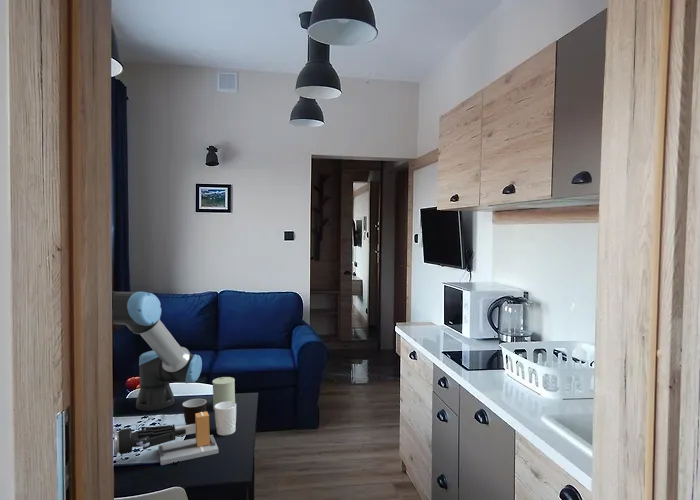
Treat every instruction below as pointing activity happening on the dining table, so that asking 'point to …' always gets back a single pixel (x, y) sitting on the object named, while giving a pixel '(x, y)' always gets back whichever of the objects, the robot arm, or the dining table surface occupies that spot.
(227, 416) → the white cup
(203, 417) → the fader tab
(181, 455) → the rail
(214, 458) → the dining table surface
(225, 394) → the can
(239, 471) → the dining table surface
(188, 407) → the coffee mug
